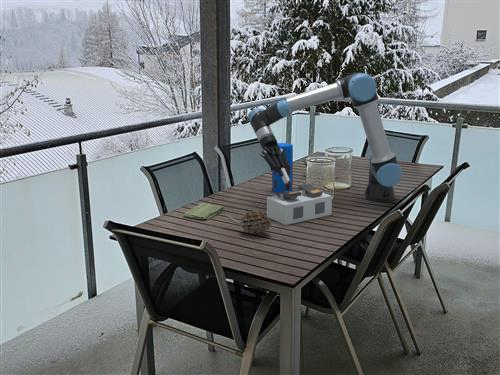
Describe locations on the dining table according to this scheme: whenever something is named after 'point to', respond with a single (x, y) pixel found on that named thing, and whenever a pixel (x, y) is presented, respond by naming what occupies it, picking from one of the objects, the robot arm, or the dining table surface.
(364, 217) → the dining table surface
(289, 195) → the outer rocker
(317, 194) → the inner rocker
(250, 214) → the pine cone
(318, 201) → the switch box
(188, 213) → the washcloth
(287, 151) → the thermos
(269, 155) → the robot arm
